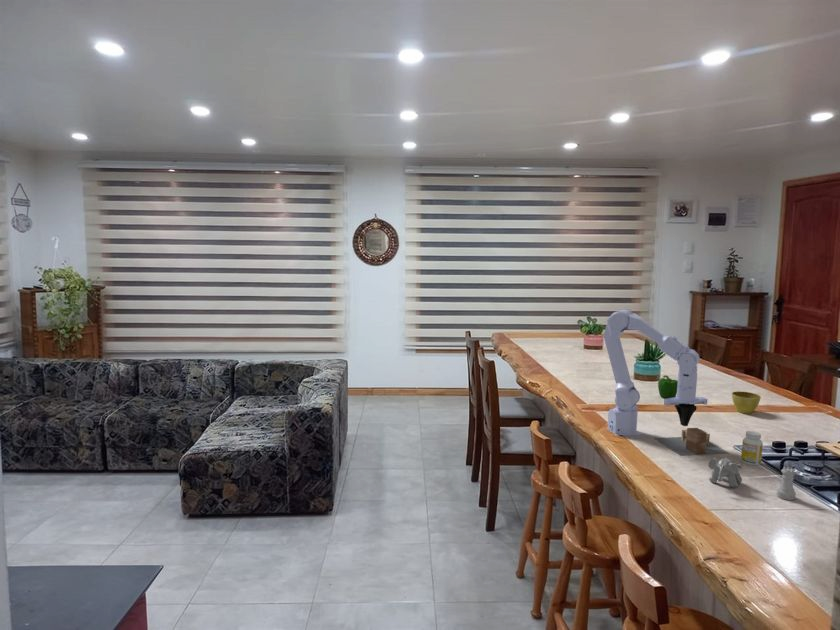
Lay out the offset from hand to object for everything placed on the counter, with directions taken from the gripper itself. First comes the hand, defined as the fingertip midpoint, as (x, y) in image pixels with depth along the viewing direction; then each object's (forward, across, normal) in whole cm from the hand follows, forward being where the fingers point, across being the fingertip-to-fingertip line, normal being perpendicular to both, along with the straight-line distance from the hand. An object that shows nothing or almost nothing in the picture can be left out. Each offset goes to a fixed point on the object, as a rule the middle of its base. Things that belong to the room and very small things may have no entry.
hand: (684, 425), depth 189 cm
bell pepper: (+7, +27, +54) cm, 61 cm away
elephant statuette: (+7, -8, -32) cm, 34 cm away
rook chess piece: (+7, +4, -41) cm, 41 cm away
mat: (+6, +1, -3) cm, 7 cm away
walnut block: (+6, -1, -8) cm, 10 cm away
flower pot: (+7, +46, +30) cm, 55 cm away
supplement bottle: (+7, +11, -18) cm, 22 cm away
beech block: (+4, +1, 0) cm, 4 cm away
